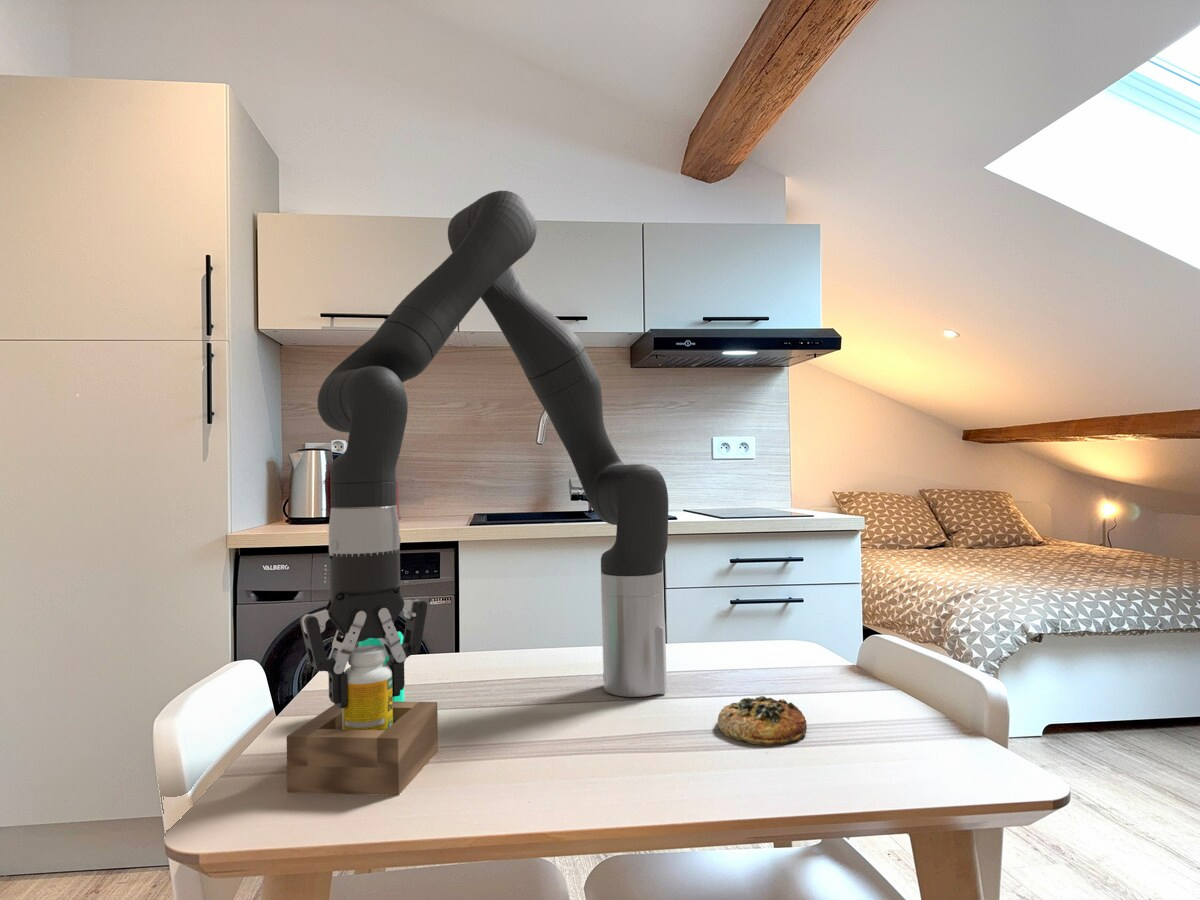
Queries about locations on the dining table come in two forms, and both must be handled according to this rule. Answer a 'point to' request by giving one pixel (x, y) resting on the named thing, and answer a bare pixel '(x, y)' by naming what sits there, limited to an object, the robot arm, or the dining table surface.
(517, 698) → the dining table surface
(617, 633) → the robot arm
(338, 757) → the walnut tray
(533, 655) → the dining table surface
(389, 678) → the supplement bottle
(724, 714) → the bread roll
